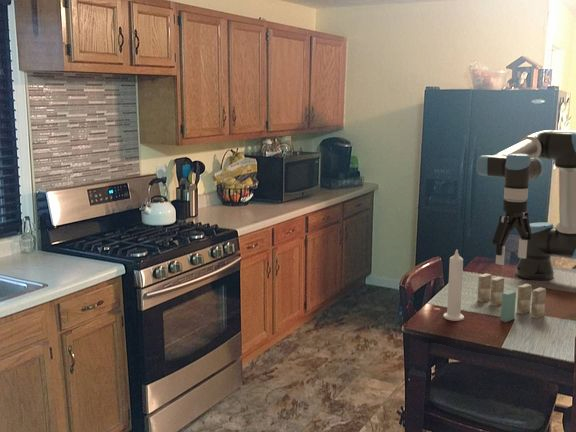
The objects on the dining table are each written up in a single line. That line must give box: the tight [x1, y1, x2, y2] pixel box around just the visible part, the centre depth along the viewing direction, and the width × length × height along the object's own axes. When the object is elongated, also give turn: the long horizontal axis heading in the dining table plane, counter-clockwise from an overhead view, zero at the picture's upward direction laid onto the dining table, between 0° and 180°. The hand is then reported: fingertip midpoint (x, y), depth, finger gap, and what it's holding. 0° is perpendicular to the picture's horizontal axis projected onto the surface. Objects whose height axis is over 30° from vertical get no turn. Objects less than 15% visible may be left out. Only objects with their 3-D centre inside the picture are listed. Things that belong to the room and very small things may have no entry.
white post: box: [443, 249, 465, 322], centre depth 206 cm, size 7×7×25 cm
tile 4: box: [489, 276, 505, 307], centre depth 221 cm, size 2×5×10 cm, turn 128°
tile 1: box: [530, 287, 547, 320], centre depth 208 cm, size 2×5×10 cm, turn 128°
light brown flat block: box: [477, 272, 492, 303], centre depth 225 cm, size 2×5×10 cm, turn 128°
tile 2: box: [516, 283, 533, 315], centre depth 212 cm, size 2×5×10 cm, turn 128°
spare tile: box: [500, 289, 517, 323], centre depth 205 cm, size 2×5×10 cm, turn 128°
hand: (511, 261), depth 202 cm, fingers open, 13 cm apart
